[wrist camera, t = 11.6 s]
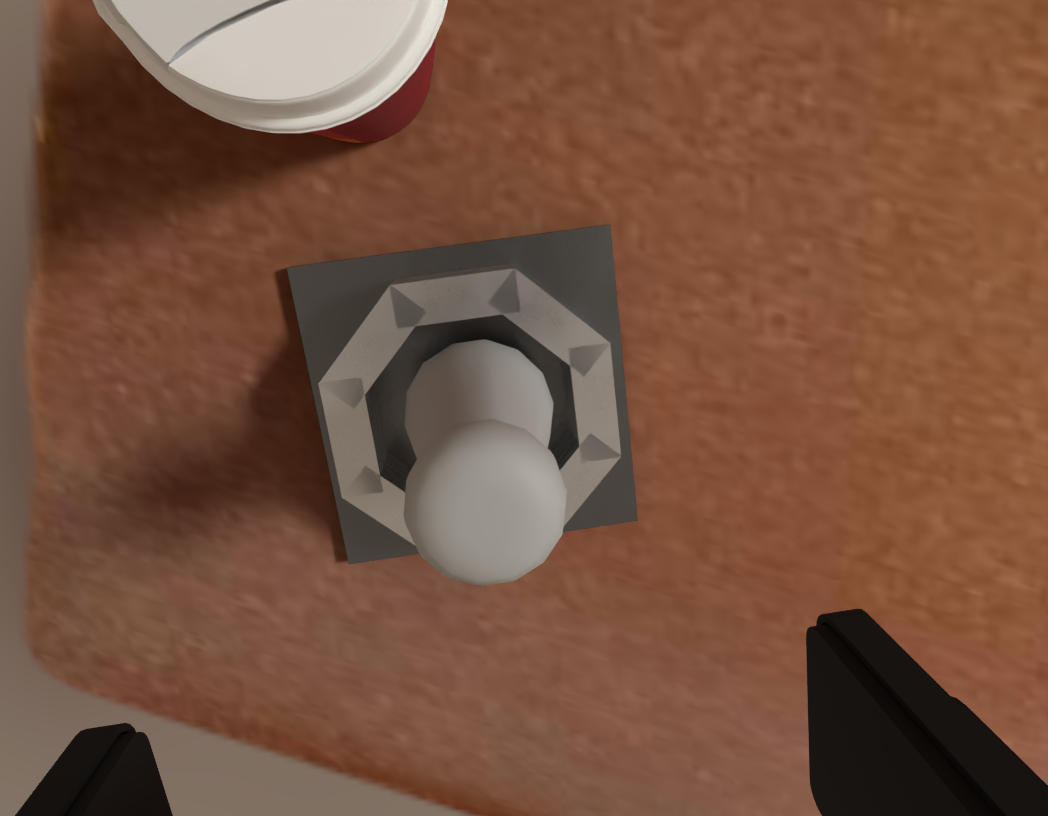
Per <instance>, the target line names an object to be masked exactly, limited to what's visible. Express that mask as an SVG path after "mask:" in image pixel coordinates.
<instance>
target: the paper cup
mask: <svg viewBox="0 0 1048 816" xmlns="http://www.w3.org/2000/svg"><path fill="white" fill-rule="evenodd" d="M93 2H94V5H95V7H96V9H97V11H98V14H99V15H100V16H101V17H102V18H103V19H104V21H105V22H106V23H107V24H108V25H109V26H110V28H111V29H112V30H113V31H114V32H115V33H116V35H117V36H118V37H119V38H120V39H121V40H122V41H123V43H124V44H125V45H126V46H127V48H128V49H129V50H130V51H131V53H132V54H133V55H134V56H135V57H136V59H137V60H138V61H139V62H140V64H141V65H142V66H143V67H144V68H145V69H146V70H147V71H148V72H149V73H150V74H151V75H152V76H154V77H155V78H156V79H157V80H158V81H159V82H160V83H161V84H162V85H163V86H164V87H165V88H167V89H168V90H169V91H171V92H172V93H174V94H175V95H176V96H178V97H179V98H181V99H182V100H184V101H185V102H186V103H188V104H189V105H191V106H193V107H195V108H197V109H199V110H200V111H202V112H204V113H206V114H208V115H210V116H212V117H214V118H216V119H218V120H221V121H224V122H227V123H230V124H233V125H236V126H239V127H242V128H245V129H251V130H257V131H263V132H269V133H306V132H310V133H313V134H317V135H320V136H324V137H328V138H332V139H336V140H340V141H346V142H353V143H367V142H374V141H379V140H382V139H385V138H388V137H390V136H392V135H394V134H396V133H397V132H399V131H400V130H402V129H403V128H404V127H406V126H407V125H408V124H409V123H410V122H411V121H412V120H413V119H414V117H415V116H416V115H417V113H418V112H419V110H420V109H421V107H422V105H423V103H424V101H425V98H426V96H427V93H428V90H429V86H430V82H431V76H432V69H433V59H434V53H435V37H436V34H437V32H438V30H439V28H440V25H441V23H442V21H443V17H444V14H445V10H446V6H447V3H448V0H93Z"/></svg>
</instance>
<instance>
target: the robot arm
mask: <svg viewBox="0 0 1048 816" xmlns="http://www.w3.org/2000/svg"><path fill="white" fill-rule="evenodd" d="M806 647H807V686H808V726H809V766H810V785H811V790H812V794H813V797H814V800H815V802H816V805H817V807H818V809H819V811H820V813H821V815H822V816H1048V785H1047V784H1046V783H1045V782H1043V781H1042V780H1041V779H1040V778H1039V777H1038V776H1037V775H1036V774H1035V773H1034V772H1033V771H1032V770H1031V769H1030V768H1029V767H1028V766H1027V765H1026V764H1025V763H1024V762H1023V761H1022V760H1021V759H1020V758H1019V757H1018V756H1017V755H1016V754H1015V753H1014V752H1013V751H1012V750H1011V749H1010V748H1009V747H1008V746H1007V745H1006V744H1005V743H1004V742H1003V741H1002V740H1001V739H1000V738H999V737H998V736H997V735H996V734H995V733H994V732H993V731H992V730H991V729H990V728H989V727H987V726H986V725H985V724H984V723H983V722H982V721H981V720H980V719H979V718H978V717H977V716H976V715H975V714H974V713H973V712H972V711H971V710H970V709H969V708H968V707H967V706H966V705H965V704H963V703H962V702H961V701H960V700H958V699H957V698H955V697H951V696H950V695H949V694H948V693H947V692H946V691H945V690H944V689H943V688H942V687H941V686H940V685H939V684H938V683H937V682H936V681H935V680H934V679H933V678H932V677H931V676H930V675H929V674H928V673H927V672H926V671H925V670H924V669H923V668H922V667H921V666H920V665H919V664H918V663H917V662H916V661H914V660H913V659H912V658H911V657H910V656H909V655H908V654H907V653H906V652H905V651H904V650H903V649H902V648H901V647H900V646H899V645H898V644H897V643H896V642H895V641H894V640H893V639H892V638H891V637H890V636H889V635H888V634H887V633H886V632H885V631H884V630H883V629H882V628H881V627H880V626H879V625H878V624H877V623H876V622H875V621H874V620H873V619H872V618H871V617H870V616H869V615H868V614H867V613H866V612H865V611H863V610H862V609H853V610H846V611H840V612H834V613H827V614H821V615H820V616H819V617H818V619H817V625H816V626H813V627H809V628H808V630H807V634H806ZM15 816H173V815H172V812H171V809H170V806H169V803H168V800H167V796H166V793H165V790H164V787H163V784H162V780H161V777H160V774H159V771H158V768H157V765H156V761H155V758H154V755H153V752H152V749H151V745H150V742H149V740H148V738H147V736H146V735H145V734H144V733H143V732H136V731H135V729H134V728H133V727H132V726H131V725H130V724H127V723H123V724H116V725H109V726H103V727H97V728H90V729H85V730H83V731H80V732H79V733H78V734H77V735H76V736H75V737H74V739H73V740H72V741H71V743H70V744H69V745H68V747H67V748H66V749H65V751H64V752H63V753H62V754H61V756H60V757H59V758H58V760H57V761H56V762H55V764H54V765H53V767H52V768H51V769H50V770H49V772H48V773H47V774H46V776H45V777H44V778H43V780H42V781H41V782H40V783H39V785H38V786H37V787H36V789H35V790H34V791H33V793H32V794H31V795H30V797H29V798H28V799H27V801H26V802H25V803H24V805H23V806H22V807H21V809H20V810H19V811H18V813H17V814H16V815H15Z"/></svg>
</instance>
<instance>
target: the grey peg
mask: <svg viewBox="0 0 1048 816" xmlns="http://www.w3.org/2000/svg"><path fill="white" fill-rule="evenodd" d="M553 404H554V403H553V400H552V398H551V395H550V392H549V389H548V386H547V383H546V381H545V378H544V375H543V373H542V372H541V371H540V370H539V369H538V368H537V367H536V366H535V365H534V364H533V363H532V362H531V361H530V360H528V359H527V358H526V357H525V356H524V355H523V354H522V353H521V352H520V351H519V350H517V349H515V348H511V347H508V346H505V345H502V344H499V343H496V342H493V341H490V340H486V339H483V340H476V341H468V342H461V343H454V344H452V345H450V346H448V347H447V348H445V349H444V350H442V351H441V352H439V353H438V354H436V355H435V356H433V357H432V358H430V359H429V360H427V361H426V362H424V363H423V364H422V366H421V368H420V369H419V371H418V373H417V375H416V376H415V378H414V380H413V382H412V383H411V385H410V387H409V389H408V390H407V393H406V407H405V420H404V426H405V429H406V431H407V434H408V436H409V439H410V442H411V444H412V447H413V450H414V452H415V455H416V458H417V460H416V462H415V464H414V466H413V467H412V469H411V471H410V472H409V475H408V477H407V480H406V489H405V503H404V519H405V524H406V526H407V529H408V531H409V533H410V535H411V537H412V539H413V542H414V544H415V546H416V548H417V550H418V552H419V554H420V556H421V557H422V558H424V559H425V560H426V561H427V562H428V563H430V564H431V565H432V566H433V567H434V568H435V569H437V570H438V571H439V572H440V573H441V574H443V575H444V576H445V577H446V578H450V579H454V580H458V581H462V582H466V583H470V584H474V585H478V586H483V585H490V584H497V583H504V582H511V581H515V580H517V579H518V578H520V577H522V576H523V575H525V574H526V573H528V572H529V571H531V570H532V569H534V568H536V567H537V566H539V565H540V564H542V563H543V562H544V561H545V560H546V558H547V557H548V555H549V554H550V552H551V551H552V549H553V548H554V546H555V545H556V543H557V542H558V540H559V539H560V537H561V536H562V534H563V525H564V516H565V507H566V497H567V490H566V487H565V484H564V482H563V479H562V476H561V473H560V470H559V468H558V465H557V462H556V459H555V457H554V456H553V454H552V452H551V451H550V450H549V449H548V445H549V440H550V434H551V424H552V414H553Z"/></svg>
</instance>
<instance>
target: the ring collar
mask: <svg viewBox="0 0 1048 816" xmlns="http://www.w3.org/2000/svg"><path fill="white" fill-rule="evenodd" d="M287 271H288V276H289V281H290V286H291V290H292V295H293V300H294V305H295V310H296V314H297V319H298V324H299V329H300V333H301V338H302V343H303V348H304V353H305V357H306V362H307V367H308V372H309V376H310V381H311V386H312V391H313V396H314V400H315V405H316V410H317V415H318V419H319V424H320V429H321V434H322V439H323V443H324V448H325V453H326V458H327V462H328V467H329V472H330V477H331V482H332V486H333V491H334V496H335V501H336V505H337V510H338V515H339V520H340V525H341V529H342V534H343V539H344V544H345V548H346V553H347V558H348V563H349V564H354V563H361V562H368V561H374V560H381V559H387V558H394V557H401V556H407V555H414V554H419V552H418V550H417V548H416V546H415V544H414V542H413V539H412V537H411V535H410V533H409V531H408V529H407V526H406V524H405V519H404V503H405V489H406V480H407V477H408V475H409V472H410V471H411V469H412V467H413V466H414V464H415V462H416V460H417V458H416V455H415V452H414V450H413V447H412V444H411V442H410V439H409V436H408V434H407V431H406V429H405V426H404V420H405V407H406V393H407V390H408V389H409V387H410V385H411V383H412V382H413V380H414V378H415V376H416V375H417V373H418V371H419V369H420V368H421V366H422V364H423V363H424V362H426V361H427V360H429V359H430V358H432V357H433V356H435V355H436V354H438V353H439V352H441V351H442V350H444V349H445V348H447V347H448V346H450V345H452V344H454V343H461V342H468V341H476V340H483V339H486V340H490V341H493V342H496V343H499V344H502V345H505V346H508V347H511V348H515V349H517V350H519V351H520V352H521V353H522V354H523V355H524V356H525V357H526V358H527V359H528V360H530V361H531V362H532V363H533V364H534V365H535V366H536V367H537V368H538V369H539V370H540V371H541V372H542V373H543V375H544V378H545V381H546V383H547V386H548V389H549V392H550V395H551V398H552V400H553V403H554V404H553V414H552V424H551V434H550V440H549V445H548V449H549V450H550V451H551V452H552V454H553V456H554V457H555V459H556V462H557V465H558V468H559V470H560V473H561V476H562V479H563V482H564V484H565V487H566V490H567V497H566V507H565V516H564V525H563V532H566V531H572V530H579V529H585V528H592V527H599V526H605V525H612V524H618V523H625V522H632V521H638V518H637V508H636V497H635V486H634V475H633V465H632V454H631V443H630V432H629V422H628V411H627V400H626V389H625V379H624V368H623V357H622V346H621V335H620V325H619V314H618V303H617V292H616V282H615V271H614V260H613V249H612V239H611V228H610V225H601V226H594V227H586V228H579V229H571V230H564V231H556V232H549V233H541V234H534V235H526V236H519V237H511V238H503V239H496V240H488V241H481V242H473V243H466V244H458V245H451V246H443V247H436V248H428V249H421V250H413V251H406V252H398V253H391V254H383V255H376V256H368V257H360V258H353V259H345V260H338V261H330V262H323V263H315V264H308V265H300V266H293V267H288V268H287Z"/></svg>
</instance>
